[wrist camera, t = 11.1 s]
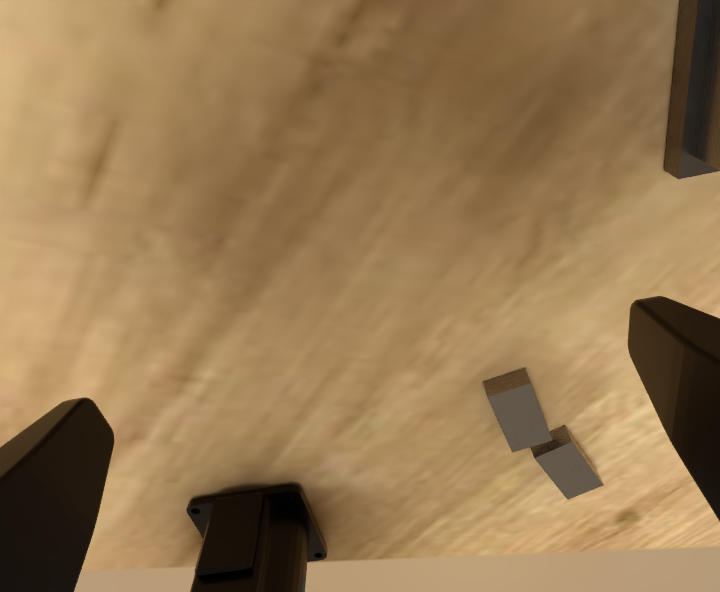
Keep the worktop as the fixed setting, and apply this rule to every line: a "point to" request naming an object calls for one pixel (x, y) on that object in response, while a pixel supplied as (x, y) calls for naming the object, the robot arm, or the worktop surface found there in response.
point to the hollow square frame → (711, 98)
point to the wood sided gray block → (567, 464)
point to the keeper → (688, 89)
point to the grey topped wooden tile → (517, 410)
